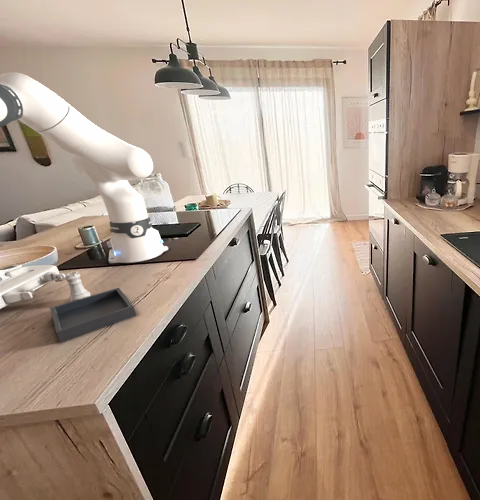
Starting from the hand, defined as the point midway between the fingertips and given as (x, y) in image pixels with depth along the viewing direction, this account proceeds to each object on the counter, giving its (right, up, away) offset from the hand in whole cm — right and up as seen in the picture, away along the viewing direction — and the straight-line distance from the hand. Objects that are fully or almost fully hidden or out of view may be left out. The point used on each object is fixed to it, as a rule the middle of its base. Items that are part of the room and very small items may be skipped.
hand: (49, 285), depth 75 cm
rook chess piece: (+6, -5, +2) cm, 8 cm away
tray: (+16, -7, -5) cm, 18 cm away
